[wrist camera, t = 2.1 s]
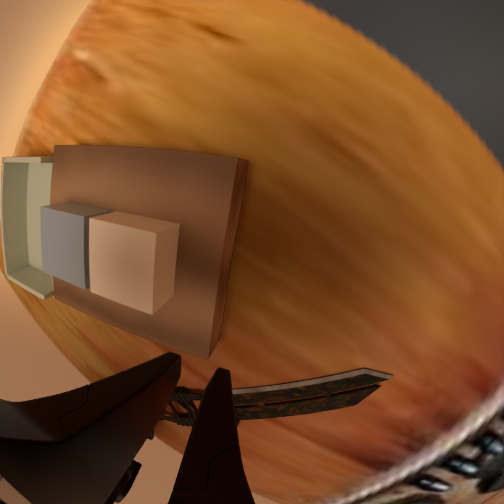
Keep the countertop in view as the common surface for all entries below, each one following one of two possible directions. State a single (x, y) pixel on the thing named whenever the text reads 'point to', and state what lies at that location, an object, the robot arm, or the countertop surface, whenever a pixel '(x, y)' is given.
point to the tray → (25, 221)
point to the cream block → (133, 259)
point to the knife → (288, 397)
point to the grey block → (67, 240)
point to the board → (167, 209)
